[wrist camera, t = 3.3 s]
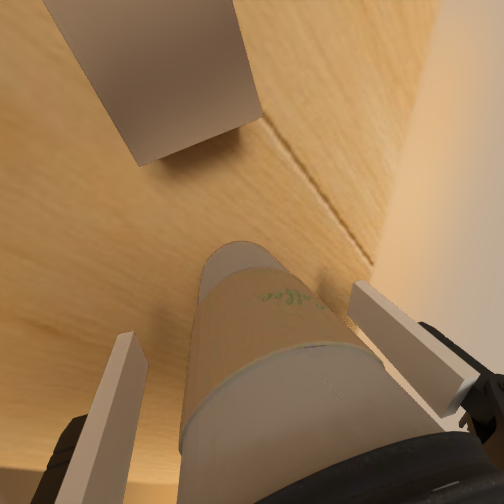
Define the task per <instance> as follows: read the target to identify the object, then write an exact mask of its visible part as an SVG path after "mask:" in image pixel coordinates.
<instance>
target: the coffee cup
mask: <svg viewBox="0 0 504 504" xmlns="http://www.w3.org/2000/svg"><path fill="white" fill-rule="evenodd" d="M179 452H180V454H181V467H180V476H179V486H178V496H177V504H503V503H504V473H503V472H502V471H501V470H500V469H498V468H497V467H496V466H495V465H494V464H493V463H492V462H491V461H490V459H489V457H488V455H487V454H486V452H485V450H484V449H483V447H482V446H481V441H480V439H479V437H477V436H476V435H474V434H472V433H469V432H460V431H450V432H445V431H444V430H443V429H442V428H441V427H440V426H439V425H438V423H437V422H435V420H433V418H432V417H431V416H430V415H429V414H428V413H427V412H426V411H425V410H424V409H423V408H422V407H421V406H420V405H419V404H418V403H417V402H416V401H415V400H414V399H413V398H412V397H411V396H410V395H409V394H408V393H407V392H406V391H405V390H404V389H403V388H402V387H401V386H400V385H399V384H398V383H397V382H396V381H395V380H394V379H393V378H392V377H391V376H390V375H389V374H388V373H387V371H386V370H385V367H384V365H383V362H382V361H381V360H380V359H379V358H378V357H377V355H375V353H374V352H373V351H372V350H371V349H369V347H368V346H367V345H366V344H365V343H364V342H363V341H362V340H361V339H360V338H359V337H358V336H357V335H356V334H354V333H353V332H352V331H351V330H350V329H349V328H348V327H347V326H346V325H345V324H344V323H343V322H342V321H341V320H340V319H339V318H338V317H337V316H336V315H335V314H334V313H333V312H332V311H331V310H330V309H329V308H328V307H327V306H326V305H325V304H324V303H323V302H322V301H321V300H320V299H319V298H318V297H317V296H316V295H315V294H314V293H313V292H312V291H311V290H310V289H309V288H308V287H307V286H306V285H305V284H304V283H303V282H302V281H301V280H299V279H298V278H296V277H295V276H293V275H292V274H290V273H289V272H288V271H287V270H286V269H285V268H284V267H283V266H282V265H281V264H280V263H279V262H278V261H277V260H276V259H275V258H274V257H273V256H272V255H271V254H270V253H269V252H268V251H267V250H266V249H264V248H263V247H261V246H259V245H257V244H254V243H250V242H244V241H238V242H231V243H229V244H226V245H224V246H222V247H221V248H219V249H218V250H217V251H215V252H214V253H213V254H212V255H211V257H210V258H209V259H208V260H207V262H206V264H205V266H204V268H203V271H202V274H201V282H200V290H199V299H198V308H197V311H196V314H195V317H194V320H193V327H192V335H191V343H190V351H189V359H188V367H187V376H186V384H185V392H184V400H183V408H182V416H181V424H180V432H179Z"/></svg>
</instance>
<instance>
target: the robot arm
mask: <svg viewBox="0 0 504 504" xmlns="http://www.w3.org/2000/svg"><path fill="white" fill-rule="evenodd" d="M348 315H349V317H350V318H351V319H352V320H353V321H354V322H355V323H356V324H357V325H358V327H359V328H360V329H361V330H362V331H363V332H364V333H365V334H366V335H367V337H368V338H369V339H370V340H371V341H372V342H373V343H374V344H375V346H376V347H377V348H378V349H379V350H380V351H381V352H382V353H383V354H384V355H385V357H386V358H387V359H388V360H389V361H390V362H391V363H392V364H393V366H394V367H395V368H396V369H397V370H398V371H399V372H400V374H401V375H402V376H403V377H404V378H405V379H406V380H407V381H408V382H409V384H410V385H411V386H412V387H413V388H414V389H415V390H416V391H417V393H418V394H419V395H420V396H421V397H422V398H423V399H424V400H425V401H426V402H427V404H428V405H429V406H430V407H431V408H432V409H433V410H434V412H435V413H436V414H437V415H438V416H439V417H440V418H444V417H446V416H449V415H452V414H455V413H456V411H457V410H458V408H459V407H460V405H461V406H462V407H463V408H464V409H465V410H466V413H465V414H464V415H463V417H462V418H461V420H460V421H459V427H460V428H463V427H464V425H465V424H466V422H467V425H468V428H467V430H468V431H469V432H470V433H472V434H474V435H476V436H477V437H479V439H480V441H481V446H482V447H483V449H484V450H485V452H486V454H487V455H488V457H489V459H490V461H491V462H492V463H493V464H494V465H495V466H496V467H497V468H498V469H500V470H501V471H502V472H503V473H504V375H502V374H494V373H493V372H491V371H490V370H488V369H487V368H486V367H484V366H483V365H482V364H481V363H479V362H478V361H477V360H475V359H474V358H473V357H472V356H470V355H469V354H468V353H466V352H465V351H464V350H462V349H461V348H460V347H459V346H457V345H456V344H454V343H453V342H452V341H451V340H449V339H448V338H446V337H445V336H444V335H443V334H442V333H441V332H439V331H438V330H437V329H435V328H434V327H432V326H430V325H428V324H426V323H424V322H418V323H417V322H415V321H414V320H413V319H412V318H411V317H409V316H408V315H407V314H406V313H404V312H403V311H402V310H400V309H399V308H398V307H397V306H396V305H395V304H393V303H392V302H391V301H390V300H388V299H387V298H386V297H385V296H383V295H382V294H381V293H380V292H378V291H377V290H376V289H375V288H373V287H372V286H371V285H370V284H369V283H367V282H366V281H365V280H359V281H355V282H353V286H352V292H351V298H350V304H349V310H348ZM148 366H149V364H148V361H147V359H146V357H145V355H144V352H143V350H142V348H141V346H140V344H139V341H138V339H137V337H136V335H135V332H134V331H131V332H126V333H122V334H118V336H117V339H116V342H115V344H114V347H113V350H112V352H111V355H110V358H109V360H108V363H107V366H106V368H105V371H104V374H103V376H102V379H101V382H100V384H99V387H98V390H97V392H96V395H95V398H94V400H93V403H92V406H91V408H90V411H89V414H86V415H83V416H79V417H76V418H73V419H72V421H71V422H70V423H69V425H68V426H67V427H66V429H65V430H64V431H63V433H62V434H61V436H60V438H59V440H58V442H57V445H56V447H55V449H54V452H53V455H52V456H51V458H50V461H49V463H48V465H47V470H46V471H45V472H44V474H43V477H42V479H41V481H40V483H39V486H38V488H37V490H36V492H35V494H34V497H33V499H32V501H31V503H30V504H122V503H123V498H124V493H125V487H126V482H127V477H128V472H129V466H130V461H131V456H132V451H133V445H134V440H135V435H136V429H137V424H138V419H139V414H140V408H141V403H142V398H143V393H144V387H145V382H146V377H147V371H148ZM503 504H504V503H503Z"/></svg>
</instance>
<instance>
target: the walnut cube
mask: <svg viewBox="0 0 504 504" xmlns="http://www.w3.org/2000/svg"><path fill="white" fill-rule="evenodd" d="M42 1H43V3H44V4H45V6H46V8H47V9H48V11H49V13H50V15H51V16H52V18H53V20H54V21H55V23H56V25H57V27H58V28H59V30H60V32H61V33H62V35H63V37H64V39H65V40H66V42H67V44H68V45H69V47H70V49H71V51H72V52H73V54H74V56H75V57H76V59H77V61H78V63H79V64H80V66H81V68H82V70H83V71H84V73H85V75H86V76H87V78H88V80H89V82H90V83H91V85H92V87H93V88H94V90H95V92H96V94H97V95H98V97H99V99H100V100H101V102H102V104H103V106H104V107H105V109H106V111H107V112H108V114H109V116H110V118H111V119H112V121H113V123H114V125H115V126H116V128H117V130H118V131H119V133H120V135H121V137H122V138H123V140H124V142H125V143H126V145H127V147H128V149H129V150H130V152H131V154H132V155H133V157H134V159H135V161H136V162H137V164H138V166H139V167H141V166H143V165H146V164H148V163H150V162H153V161H155V160H158V159H160V158H163V157H165V156H168V155H170V154H173V153H175V152H178V151H180V150H183V149H185V148H188V147H190V146H192V145H195V144H197V143H200V142H202V141H205V140H207V139H210V138H212V137H215V136H217V135H220V134H222V133H225V132H227V131H229V130H232V129H234V128H237V127H239V126H242V125H244V124H247V123H249V122H252V121H254V120H257V119H259V118H262V117H263V113H262V110H261V106H260V102H259V99H258V95H257V91H256V87H255V84H254V80H253V76H252V72H251V69H250V65H249V61H248V58H247V54H246V50H245V46H244V43H243V39H242V35H241V31H240V28H239V24H238V20H237V17H236V13H235V9H234V5H233V2H232V0H42Z"/></svg>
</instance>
